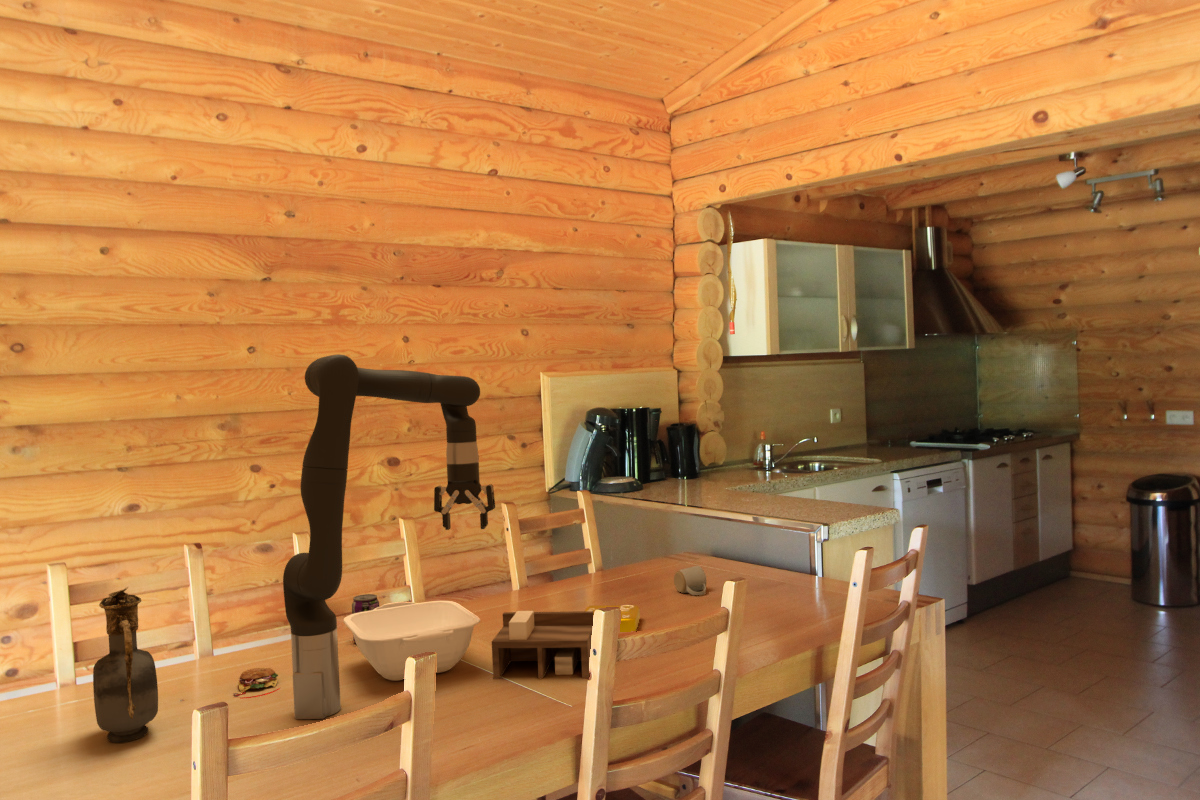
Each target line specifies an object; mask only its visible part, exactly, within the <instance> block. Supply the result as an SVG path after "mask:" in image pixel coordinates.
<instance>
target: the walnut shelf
mask: <svg viewBox="0 0 1200 800" xmlns="http://www.w3.org/2000/svg"><path fill="white" fill-rule="evenodd" d="M516 612H517V611H515V612H512V611H511V612H509V611H507V612H503V613H502V627H501V629H500V630H499V631H498V632H497V634H496V635H495V637H494V638H493V639H492V641H491V656H492V657H491V660H492V675H493V676H492V678H493V680H494V679H496V680H497V679H501V677H502V676H503V674H504V673H505V671H506V669H507V668H508V666H509V664H510V663H511V662H537V674H538V675H537V676H538V679H543V678H544V676H545V675H546V673H547V671H548V669H549V667H550V665H551V662H552V661H553V662H554V671H555V673H554V674H555V675H574V673H575V669H576V666H577V665H578V662H579V661H581V678H582V679H589V678H590V676H589V657H590V649H591V635H592V626H593V615H594V612H593V611H585V610H584V611H583V610H581V611H573V610H572V611H534V629H533V630H532V632H531V634H530V635H529V637H528V638H527V640H510V638H509V622H510V620H511V619H512V618H513V616H514V615H515V614H516Z"/></svg>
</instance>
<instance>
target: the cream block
mask: <svg viewBox="0 0 1200 800" xmlns="http://www.w3.org/2000/svg"><path fill="white" fill-rule="evenodd" d="M515 612H516V614H515V615H514V616H513V618H512V619H511V620H510V622H509V638H510V640H527V638H528V637H529V635H530V634H531V632H532V630H533V629H534V612H535V611H534V610H517V611H515Z"/></svg>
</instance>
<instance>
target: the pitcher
mask: <svg viewBox="0 0 1200 800" xmlns="http://www.w3.org/2000/svg"><path fill="white" fill-rule="evenodd" d="M128 588H129V586H126V587H125V588H124V589H120V590H116V591H113V592H111V593H109V594H108V597H105V598H102V599H101V600H100V602H99V605H98V606H99V607H100V608H101V609H103V610H104V613H105V620H106V634H107V635H108V648H109V651H108V652H109V653H108V654H106V655H104V656H102V657H101V658H100V659H98V660H97V661H96V662H95V663H94V666H93V669H92V671H93V672H92V682H93V683H92V685H93V686H92V687H93V691H92V692H93V701H94V712H95V718H96V724H97V726H98V727H99V729H100V730H102V731H106V732H108V733H107V737H106V738H107V740H108V742H110V743H114V744H115V743H116V744H120V743H121V744H123V743H128V742H127V741H129V742H133V741H136V740H139V739H141V738H142V737H145V736H146V735H147V734H148V732H149V727H148V726H147V724H149V723H150V722H151V721H153V720H154V719H155V717H156V716H157V714H158V711H159V689H158V687H159V685H158V677H157V676H158V675H157V670H156V665H155V660H154V658H153V656H152V654H151V653H150V652H149V651H147V650H143V649H139V648H138V642H137V641H138V639H137V631H138V630H139V614H138V613H139V611H138V609H139V608H138V607H139V606H138V605H139V604H140V603H141V602H142V598H141V597H140V596H137V595H135V594H129V593H127V592H125V591H126V590H127V589H128ZM144 735H145V736H144ZM140 737H141V738H140ZM135 739H136V740H135ZM132 740H133V741H132Z"/></svg>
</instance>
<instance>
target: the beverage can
mask: <svg viewBox="0 0 1200 800" xmlns="http://www.w3.org/2000/svg"><path fill="white" fill-rule="evenodd" d="M352 599H353V601H352V604H351V614H354V613H359V612H364V611H371V610H373V609H375V608H377V607H380V601H379V599H378V595H377V594H374V593H373V594H371V593H365V594H359V595H356V596H353V598H352ZM352 638H353V639H352V641H353V642H355V639H354V636H353V635H352ZM355 643H356V642H355Z"/></svg>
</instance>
